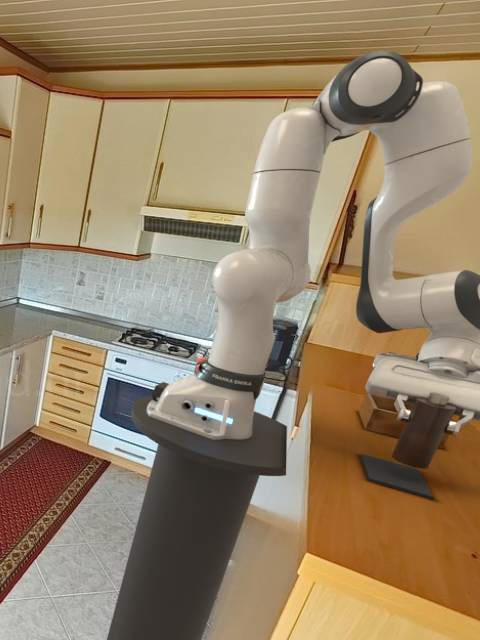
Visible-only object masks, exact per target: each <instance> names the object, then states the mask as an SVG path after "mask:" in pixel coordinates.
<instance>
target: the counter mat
mask: <svg viewBox="0 0 480 640" xmlns="http://www.w3.org/2000/svg"><path fill="white" fill-rule="evenodd" d="M360 459H361V462H362V465H363V468H364V472H365V475H366V478H367V481H368V482H372V483H375V484H377V485H381V486H384V487H388V488H391V489H395V490H398V491H402V492H405V493H409V494H411V495H415V496H419V497H422V498H425V499H429V500H433V499H434V498H435V496H434V494H433V492H432V491H431V489H430V487H429V485H428V484H427V482H426V480H425V478H424V476H423V474H422V473H421V471H420V468H416V467H412V466H409V465H405V464H402V463H396V462H393V461H389V460H386V459H382V458H380V457H379V458H378V457H374V456H371V455H367V454H364V453H361V454H360Z"/></svg>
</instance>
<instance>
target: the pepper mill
mask: <svg viewBox="0 0 480 640" xmlns="http://www.w3.org/2000/svg"><path fill="white" fill-rule="evenodd" d="M449 399H450V397H449V396H446V395H443V394H439V393H433V392H431V393H430V394H429V396H428V399H426V398H417V399H416V402H415V404H414V406H413V408H412V411H411V414H410V415H409V416H410V417H409V419H408V421H407V422H406V424H405V426H404V429H403V431H402V433H401V435H400V438H398V440H397V442H396V444H395V446H394V449H393V451H392V453H391V458H392V459H393V460H395V461H397V462H398V463H400V464H402V465H405V466H408V467H412V468H415V469H428V468H429V466H430V464H431V462H432V460H433V459H434V456H435V454H436V452H437V450H438V449H439V448H438V446H439V444H440V442H441V440H442V437H443V435H444V433H445V431H446V429H447V427H448V425H449V423H450V421H452V419H453V416H455V415H454V412H455V410H456V407H455V406H453V405H451V404H447V403H448V401H449Z"/></svg>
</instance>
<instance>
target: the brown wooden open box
mask: <svg viewBox="0 0 480 640" xmlns="http://www.w3.org/2000/svg"><path fill="white" fill-rule="evenodd" d="M394 403H395V400H393V399H389V398H385V397H381V396H377V395H373V394H370V393H368V392H366V393H365V395H364V397H363V400H362V403H361V404H360V408H359V409H358V414H359V417H360V419H361V422H362V425H363V428H364V430H366V431H370V432H373V433H377V434H382V435H386V436H390V437H394V438H396V439H397V438H398V439H399V438H400V435H401V433H402V431H403V429H404V426H405V424H406V423H405V422H402V421H398V420H396V419H397V417H398V414H399V413H398V412H397V409H396V407H395V405H394ZM404 406H405V408H406V410H409V411H412V408H413V406H414V405H413V404H409V403H405V404H404ZM449 436H450V435H449V434H446V433H444V435H443V437H442V440H441V442H440V444H439V446H438V448H437V449H440V450H441V449H443V448H444V447H445V444H446V442H447V440H448V438H449Z"/></svg>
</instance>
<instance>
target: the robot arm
mask: <svg viewBox="0 0 480 640" xmlns="http://www.w3.org/2000/svg"><path fill="white" fill-rule="evenodd" d="M364 131H368V132H370V133H372V134H373V135H374V136H375V137H376V138H377V140H378V141H379V143H380V146H381V148H382V159H383V165H384V167H383V168H384V177H383V181H382V186H381V188H380V190H379V193H378V195H377V196H376V197H374V199H372V200H371V201H370V202H369V204H368V205H367V208H366V213H365V216H364V217H365V219H364V224H363V235H362V236H363V237H362V251H361V253H362V254H361V268H360V270H361V271H360V283H359V284H360V285H359V290H358V292H357V293H358V294H357V299H356V303H355V304H356V305H355V315H356V319H357V321H358V322H359V323H360V324H361V325H362V326H364V327H365V328H366V329H368V330H370V331H372V332H374V333H376V334H385V333H392V332H393V333H394V332H399V331H403V330H415V329H428V331H427V335H428V337H427V339H426V340H424V342H423V344H422V345H421V348H420V351H419V352H418V353H419V356H418V357H416V356H411V355H406V354H398V353H396V352H391V351H387V353H385V352H383V353H379V354H377V355H376V356H375V357H374V358H373V361H372V368H373V370H372V371H371V373H370V375H369V377H368V379H367V382H366V384H365V387H364V389H365V390H366V393H370V394H373V395H377V396H381V397H385V398H389V399H393V400H395V403H394V405H395V407H396V409H397V412H398V413H399V414H398V417H397V419H396V420H398V421H402V422H405V423H406V422H407V421H408V419H409V417H410V416H409V415H410V414H411V411H409V410H406V408H405V406H404V404H405V403H409V404H413V405H414V404H415V402H416V399H417V398H426V399H428V396H429V394H430V393H431V392H433V393H439V394H443V395H446V396H449V397H450V399H449V401H448V403H447V404H451V405H453V406H455V407H456V410H455V412H454V415H453V416H457V417H458V419H457V421H456V422H455V421H452V420H451V421H450V423H449V425H448V427H447V429H446V431H445V433H446V434H449V436H454V437H456V436H457V435H458V433H459V431H460V429H461V428H463V427H465V426H466V425H468V424H469V423H470V422H471V421H473V420H474V421H477V422H480V274H478V273H477V272H474V271H472V270H468V269H465V270H453V271H447V272H446V271H445V272H439V273H432V274H429V275H423V276H422V275H421V276H416V277H409V278H402V279H396V278H395V277H394V262H395V250H396V239H397V238H396V237H397V236H398V233H399V231H400V230H401V228H403V226H404V225H405V224H406V223H408V221H410V220H411V219H413V218H414V217H416V216H418V215H420V214H421V213H423V212H425V211H427V210H429V209H430V208H432V207H434V206H436V205H437V204H439V203H441V202H442V201H444V200H445V199H447V198H449V197H450V196H451V195H453V194H454V193H455V192H456V191H457V190H458V189H459V188H460V187H461V186H462V185H464V183H465V182H466V180H467V179H468V178H469V176H470V173H471V171H472V167H473V157H474V156H473V144H472V136H471V128H470V124H469V118H468V114H467V112H466V107H465V105H464V102H463V99H462V97H461V95H460V92H459V90H458V88H457V87H456V85H454V84H453V83H451V82H449V81H446V80H445V81H444V80H437V81H435V80H434V81H427V82H425V83H424V79H423V77H422V75H420V74H419V73H418V72H416V70H414V69H413V68H412V65H410V63H409V62H408V60H406V59H405V58H404V56H402V55H401V54H399V53H397V52H395V51H392V50H385V49H382V50H375V51H371V52H370V51H369V52H368V53H365V54H362V55H359V56H358V57H356V58H355V59H353V60H352V61H350V62H348V63H347V64H346V65H344V67H343V68H342V69H340V71H339V72H338V73H337V74H335V75H334V76H333V77H332V78H331V79H330V80H329V81H328V82H327V84H326V85H325V87H324V88H323V90H321V92H320V93H319V95H318V96H317V97H316V99H315V100H314V101H313V103H312V104H311V105H310V106H309V105H308V106H307V107H295V108H292V109H288V110H285V111H283V112H281V113H279V114H278V115H276V116H275V117H274V118H273V119H272V120H271V121H270V123H269V125H268V126H267V129H266V132H265V134H264V136H263V139H262V141H261V144H260V147H259V150H258V153H257V157H256V161H255V165H254V168H253V173H252V178H251V182H250V187H249V188H250V189H249V192H248V196H247V201H246V202H247V203H246V206H245V211H244V219H245V222H246V224H247V227H248V235H249V247H248V248H243V249H240V250H237V251H234V252H231V253H230V254H226V255H225V256H224V257H223V258H222V259H220V260H219V262H218V263H217V264H216V265H215V267H214V270H213V272H212V278H211V284H212V287H213V291H214V292H215V294H216V296H217V320H216V321H217V322H216V329H215V333H214V337H213V340H212V345H211V348H210V351H209V355H208V359H207V358H205V357H203V356H200V357H199V358H197V360H196V361H195V368H194V372H193V374H191V375H188V376H185V377H183V378H180V379H177V380H175V381H172V382H170V383H167V382H165V381H162V382H160V383H158V384H156V385H155V386H154V389H153V390H152V392H151V395H152V398H153V400H152V401H151V402H150V403H149V404H148V406H147V409H146V411H147V414H148V415H149V416H150V417H153V418H155V419H158V420H161V421H163V422H166V423H169V424H171V425H174V426H177V427H180V428H182V429H185V430H188V431H190V432H193V433H196V434H199V435H201V436H204V437H207V438H210V439H213V440H222V439H236V440H240V439H248V438H250V437H251V436H252V435H253V431H252V425H253V414H254V411H255V408H256V402H257V399H258V398H259V397H260V395H261V393H262V390H263V387H264V384H265V381H266V379H265V378H266V373H265V372H266V367H267V364H268V361H269V359H270V356H271V353H272V350H273V346H274V344H275V340H276V335H275V332H274V313H275V306H276V304H281V303H284V302H287V301H289V300H291V299H293V298H295V297H297V296H298V295H299V294H301V293H303V291H304V290H305V289H306V288H307V286H308V285H309V283H310V281H311V277H312V271H311V266H310V264H309V250H310V249H309V248H310V225H311V224H310V222H311V215H312V210H313V206H314V202H315V198H316V194H317V189H318V185H319V181H320V176H321V173H322V168H323V162H324V157H325V155H326V154H327V151H328V148H329V146H330V144H331V143H333V142H337V141H341V140H345V139H347V138H351V137H354V136H355V135H358V134H359V133H361V132H364ZM156 397H158V398H156Z"/></svg>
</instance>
